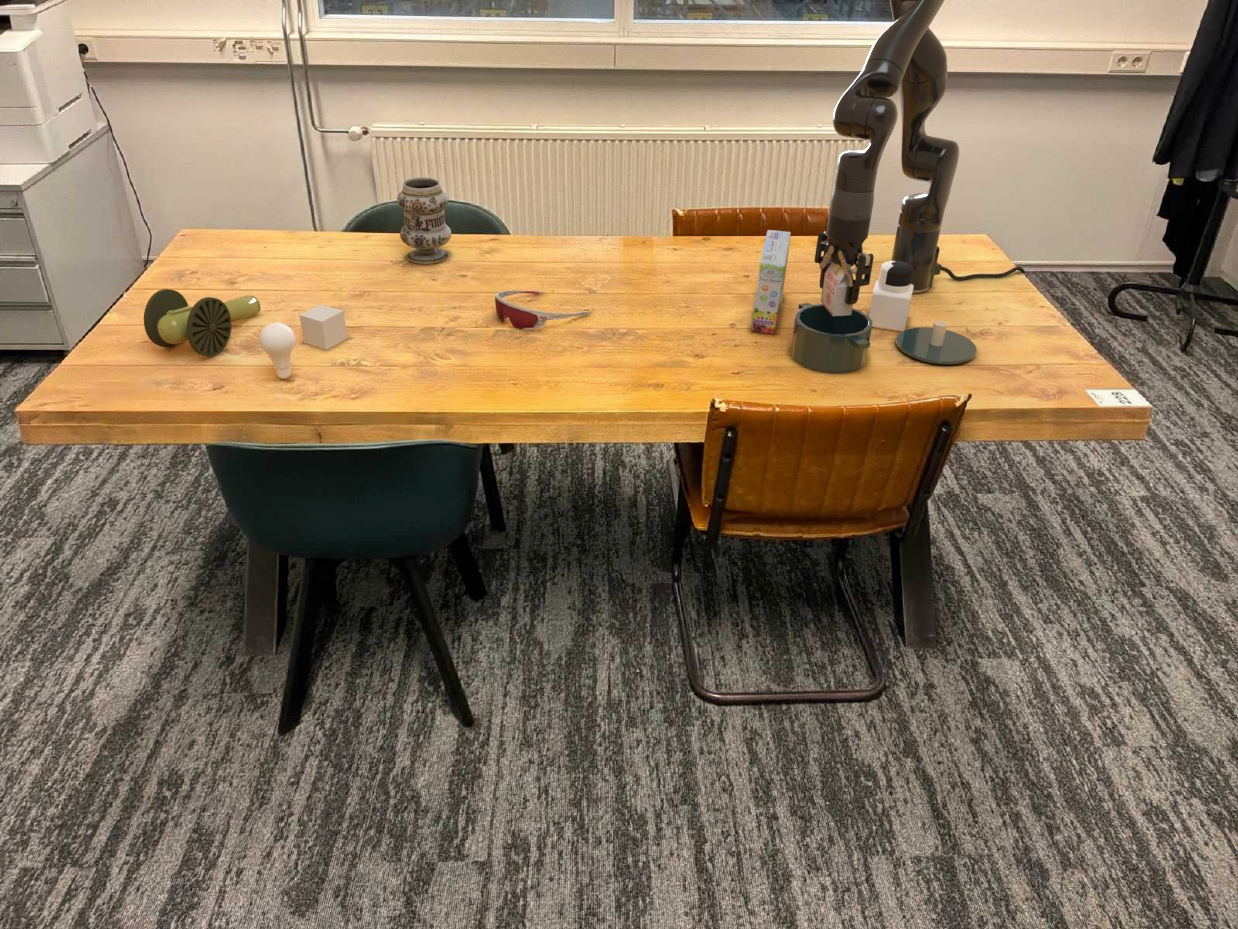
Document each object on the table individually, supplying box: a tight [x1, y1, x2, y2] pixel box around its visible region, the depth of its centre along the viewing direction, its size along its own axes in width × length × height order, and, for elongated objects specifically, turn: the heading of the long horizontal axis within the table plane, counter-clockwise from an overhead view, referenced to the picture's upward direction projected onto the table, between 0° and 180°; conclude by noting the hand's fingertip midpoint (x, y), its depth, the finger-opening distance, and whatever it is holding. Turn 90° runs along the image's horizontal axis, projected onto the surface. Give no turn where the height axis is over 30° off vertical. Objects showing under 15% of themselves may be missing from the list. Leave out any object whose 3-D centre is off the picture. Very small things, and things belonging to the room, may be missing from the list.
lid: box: [895, 320, 978, 365], centre depth 189 cm, size 16×16×6 cm
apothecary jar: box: [396, 177, 452, 265], centre depth 222 cm, size 12×12×18 cm
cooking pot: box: [790, 302, 873, 374], centre depth 185 cm, size 15×20×8 cm
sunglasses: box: [494, 289, 589, 331], centre depth 200 cm, size 17×17×5 cm
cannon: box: [143, 288, 262, 358], centre depth 186 cm, size 25×12×11 cm, turn 160°
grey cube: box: [298, 304, 349, 350], centre depth 188 cm, size 6×6×6 cm
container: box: [868, 260, 914, 333], centre depth 197 cm, size 8×8×13 cm
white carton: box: [820, 262, 854, 316], centre depth 179 cm, size 4×7×10 cm, turn 9°
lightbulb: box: [258, 322, 296, 380], centre depth 173 cm, size 6×6×11 cm
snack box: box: [750, 229, 792, 335], centre depth 199 cm, size 21×6×15 cm, turn 168°
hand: (837, 295), depth 180 cm, fingers closed on white carton, 7 cm apart
